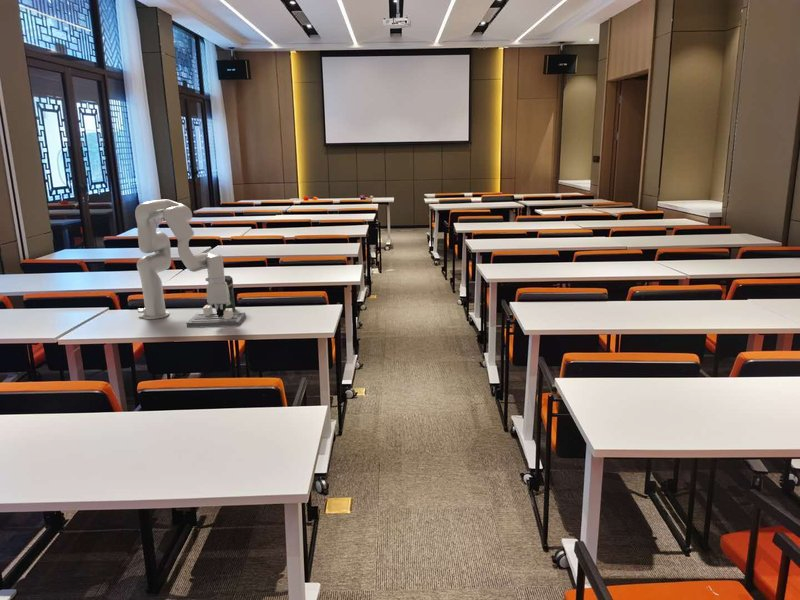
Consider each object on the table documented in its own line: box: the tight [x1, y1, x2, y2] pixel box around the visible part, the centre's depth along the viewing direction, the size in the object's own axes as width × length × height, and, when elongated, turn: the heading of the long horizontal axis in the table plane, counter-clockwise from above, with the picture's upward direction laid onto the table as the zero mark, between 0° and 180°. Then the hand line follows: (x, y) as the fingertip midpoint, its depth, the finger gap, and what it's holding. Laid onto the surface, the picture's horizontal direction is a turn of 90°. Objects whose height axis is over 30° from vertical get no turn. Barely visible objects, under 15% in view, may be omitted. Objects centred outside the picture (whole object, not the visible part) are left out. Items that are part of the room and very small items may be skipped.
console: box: [185, 304, 247, 328], centre depth 290 cm, size 25×15×7 cm, turn 92°
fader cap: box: [224, 308, 234, 319], centre depth 287 cm, size 3×5×4 cm, turn 2°
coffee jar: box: [219, 275, 236, 312], centre depth 306 cm, size 10×8×19 cm
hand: (220, 316), depth 287 cm, fingers closed
